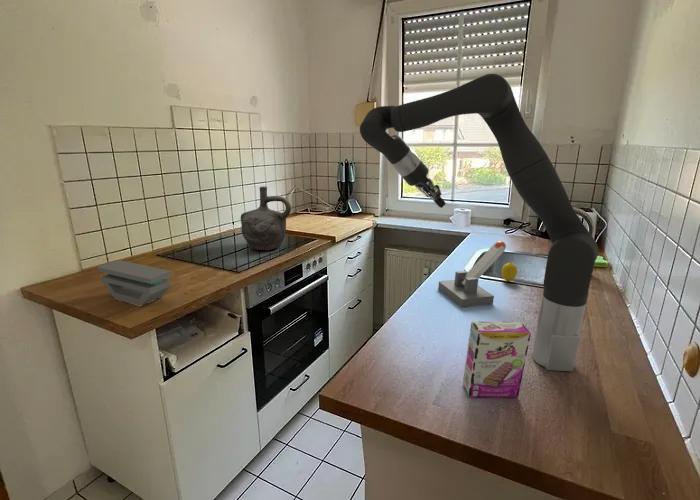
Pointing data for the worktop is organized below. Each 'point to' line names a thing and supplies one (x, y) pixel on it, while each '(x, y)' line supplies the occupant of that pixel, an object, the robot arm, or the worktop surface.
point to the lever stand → (465, 291)
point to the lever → (485, 261)
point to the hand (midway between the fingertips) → (442, 205)
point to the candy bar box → (495, 359)
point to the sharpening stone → (134, 281)
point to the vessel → (265, 223)
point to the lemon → (509, 271)
